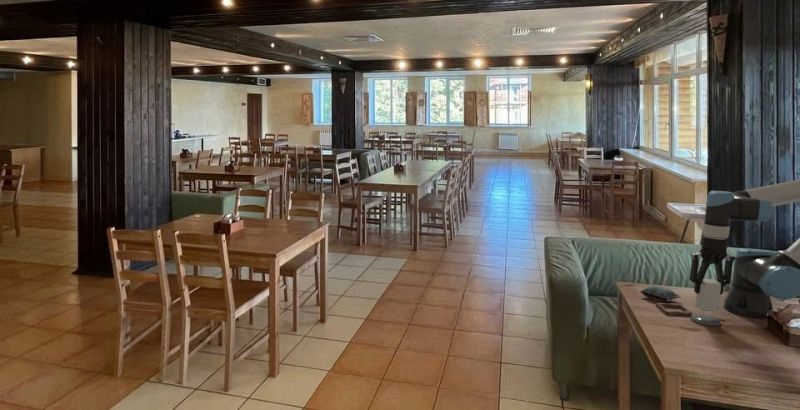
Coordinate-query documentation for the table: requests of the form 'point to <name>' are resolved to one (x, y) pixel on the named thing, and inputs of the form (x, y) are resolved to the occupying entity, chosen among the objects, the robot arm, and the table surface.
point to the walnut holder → (683, 313)
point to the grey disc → (705, 320)
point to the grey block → (710, 295)
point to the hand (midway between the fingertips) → (707, 302)
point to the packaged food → (659, 293)
